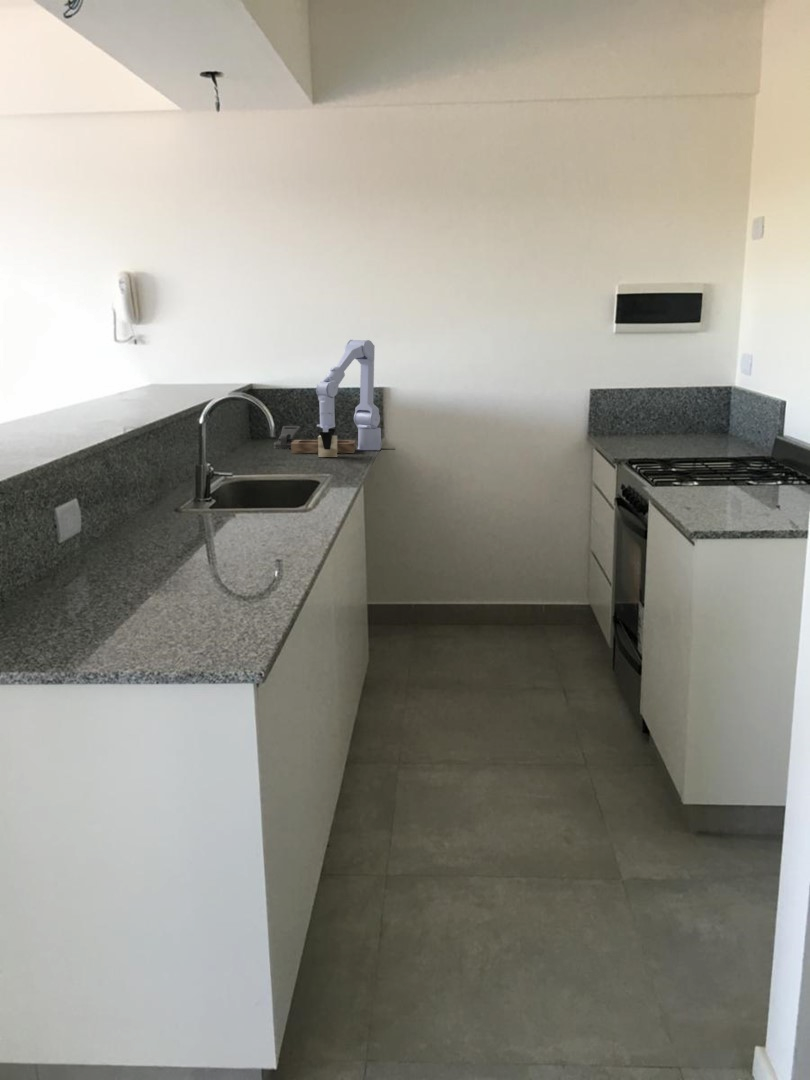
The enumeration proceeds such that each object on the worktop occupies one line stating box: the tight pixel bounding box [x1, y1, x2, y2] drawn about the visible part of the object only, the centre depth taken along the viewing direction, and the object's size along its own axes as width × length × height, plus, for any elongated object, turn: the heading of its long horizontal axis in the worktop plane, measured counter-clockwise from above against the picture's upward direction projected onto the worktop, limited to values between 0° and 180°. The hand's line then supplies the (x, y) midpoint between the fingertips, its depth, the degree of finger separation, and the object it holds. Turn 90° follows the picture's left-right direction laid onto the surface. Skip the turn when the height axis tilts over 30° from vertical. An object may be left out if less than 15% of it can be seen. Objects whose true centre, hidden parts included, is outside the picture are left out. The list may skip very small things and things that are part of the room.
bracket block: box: [317, 434, 338, 458], centre depth 353 cm, size 7×4×8 cm, turn 89°
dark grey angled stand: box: [273, 425, 301, 449], centre depth 385 cm, size 9×7×25 cm
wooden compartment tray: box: [290, 439, 357, 454], centre depth 366 cm, size 25×10×4 cm, turn 89°
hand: (327, 448), depth 353 cm, fingers closed on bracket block, 4 cm apart
